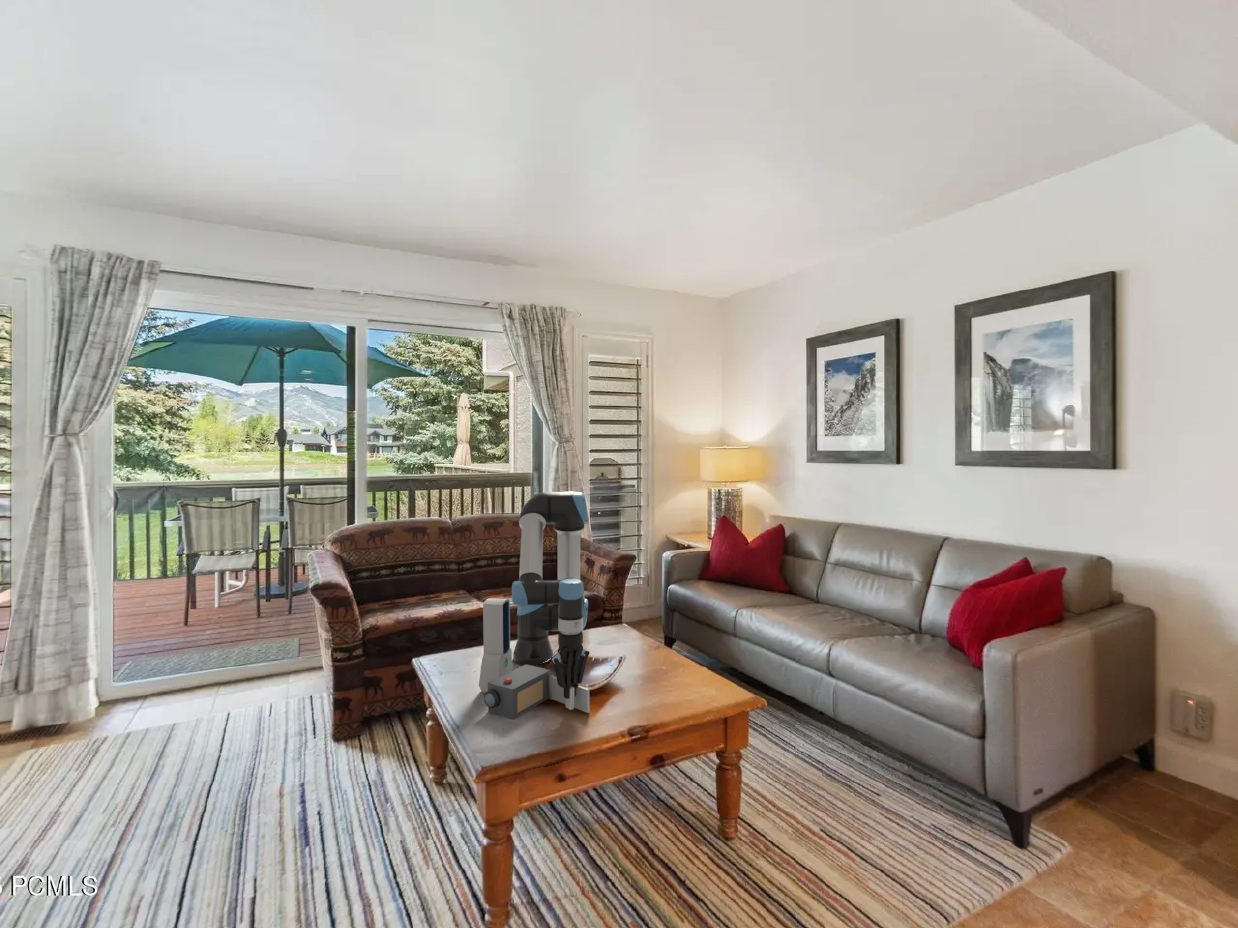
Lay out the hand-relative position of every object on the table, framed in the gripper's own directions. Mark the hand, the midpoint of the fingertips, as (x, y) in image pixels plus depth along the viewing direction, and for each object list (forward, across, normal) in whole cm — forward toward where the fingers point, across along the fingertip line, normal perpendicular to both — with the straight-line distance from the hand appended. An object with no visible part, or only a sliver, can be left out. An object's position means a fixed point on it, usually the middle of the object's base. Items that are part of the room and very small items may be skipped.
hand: (569, 707), depth 185 cm
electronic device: (+2, -9, +31) cm, 33 cm away
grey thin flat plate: (+1, +3, +4) cm, 5 cm away
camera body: (+2, -9, +15) cm, 17 cm away
